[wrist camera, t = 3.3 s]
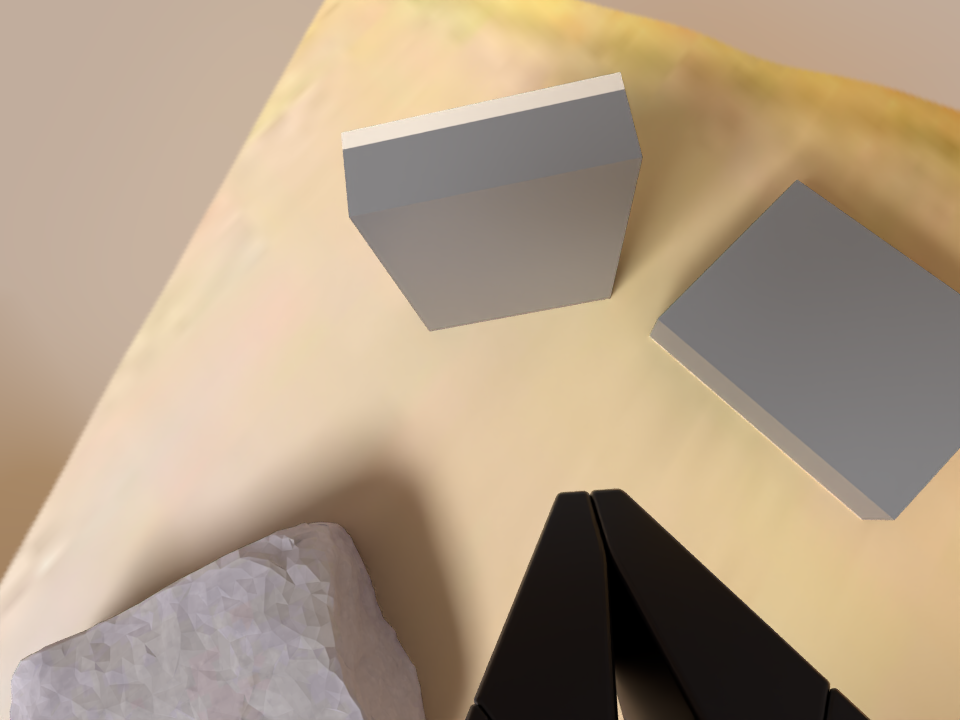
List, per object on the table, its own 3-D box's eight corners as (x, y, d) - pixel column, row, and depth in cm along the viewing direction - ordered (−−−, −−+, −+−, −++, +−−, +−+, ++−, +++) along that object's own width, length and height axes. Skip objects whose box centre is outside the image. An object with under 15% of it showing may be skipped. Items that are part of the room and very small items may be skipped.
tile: (610, 298, 22) (642, 157, 13) (429, 331, 23) (349, 216, 14) (597, 241, 23) (620, 71, 14) (422, 274, 23) (340, 132, 15)
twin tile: (989, 372, 20) (1045, 354, 18) (854, 519, 19) (894, 519, 17) (772, 213, 22) (797, 179, 20) (647, 339, 22) (657, 318, 20)
